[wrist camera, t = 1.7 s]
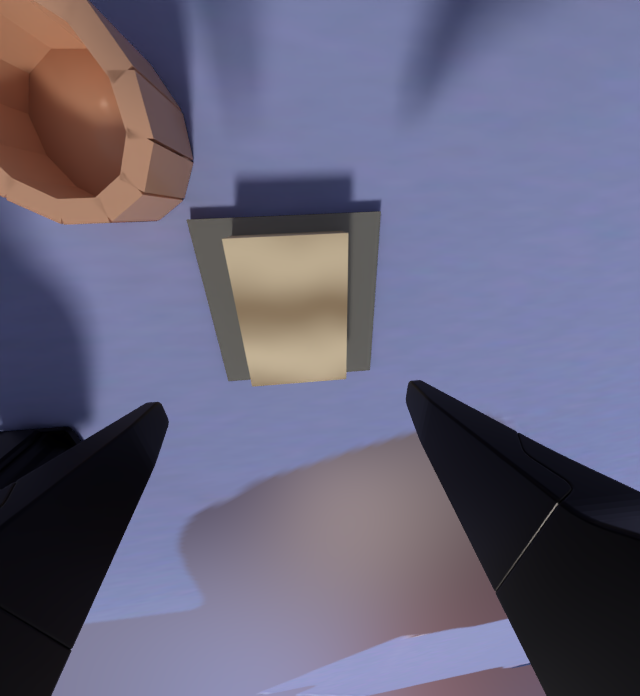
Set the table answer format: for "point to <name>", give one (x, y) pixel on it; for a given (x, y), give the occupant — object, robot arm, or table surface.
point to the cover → (291, 304)
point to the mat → (214, 230)
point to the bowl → (85, 119)
